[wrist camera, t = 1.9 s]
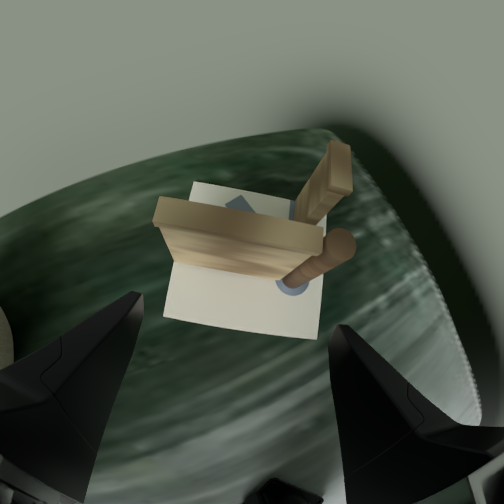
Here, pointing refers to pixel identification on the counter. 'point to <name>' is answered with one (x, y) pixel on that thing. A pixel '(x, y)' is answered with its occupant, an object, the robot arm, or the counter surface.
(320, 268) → the wooden plank
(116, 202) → the counter surface
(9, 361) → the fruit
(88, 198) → the counter surface
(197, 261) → the fence panel
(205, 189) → the card
